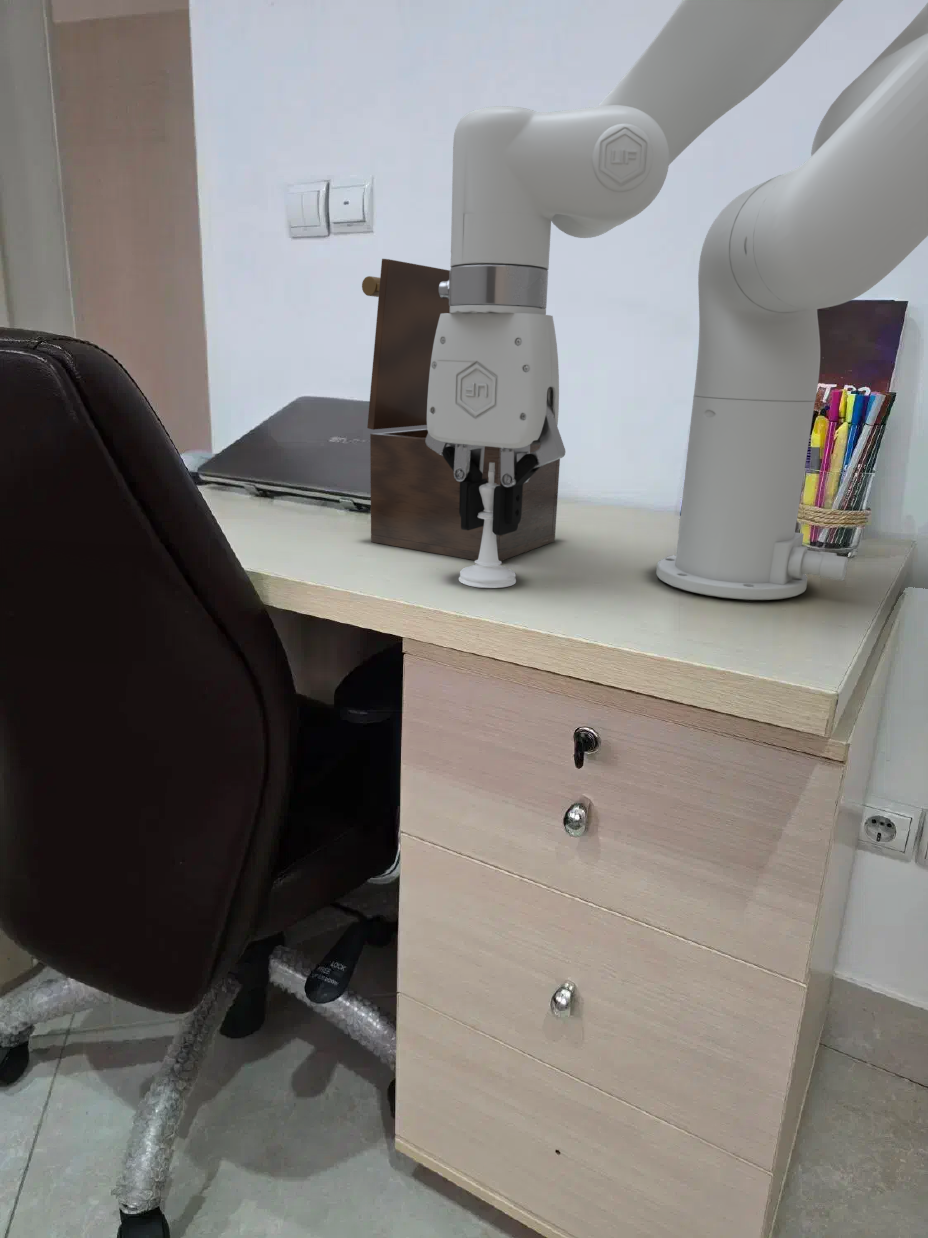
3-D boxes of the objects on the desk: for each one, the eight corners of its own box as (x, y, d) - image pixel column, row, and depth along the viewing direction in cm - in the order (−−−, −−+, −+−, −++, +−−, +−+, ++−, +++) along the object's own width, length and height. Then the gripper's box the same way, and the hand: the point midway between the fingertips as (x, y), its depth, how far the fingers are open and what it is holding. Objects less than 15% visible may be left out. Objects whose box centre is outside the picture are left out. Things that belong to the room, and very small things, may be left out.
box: (555, 541, 87) (561, 436, 84) (494, 563, 77) (498, 445, 73) (440, 523, 94) (442, 426, 91) (370, 541, 84) (370, 433, 81)
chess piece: (517, 575, 73) (522, 460, 70) (515, 589, 68) (521, 467, 65) (461, 572, 73) (465, 458, 70) (455, 586, 69) (459, 465, 66)
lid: (463, 272, 85) (419, 267, 88) (388, 258, 75) (341, 253, 78) (445, 423, 91) (404, 414, 93) (373, 429, 81) (329, 419, 83)
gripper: (385, 293, 65) (385, 524, 70) (571, 289, 57) (555, 551, 62) (439, 300, 71) (435, 512, 77) (614, 298, 63) (596, 536, 68)
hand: (489, 528), depth 69 cm, fingers closed
